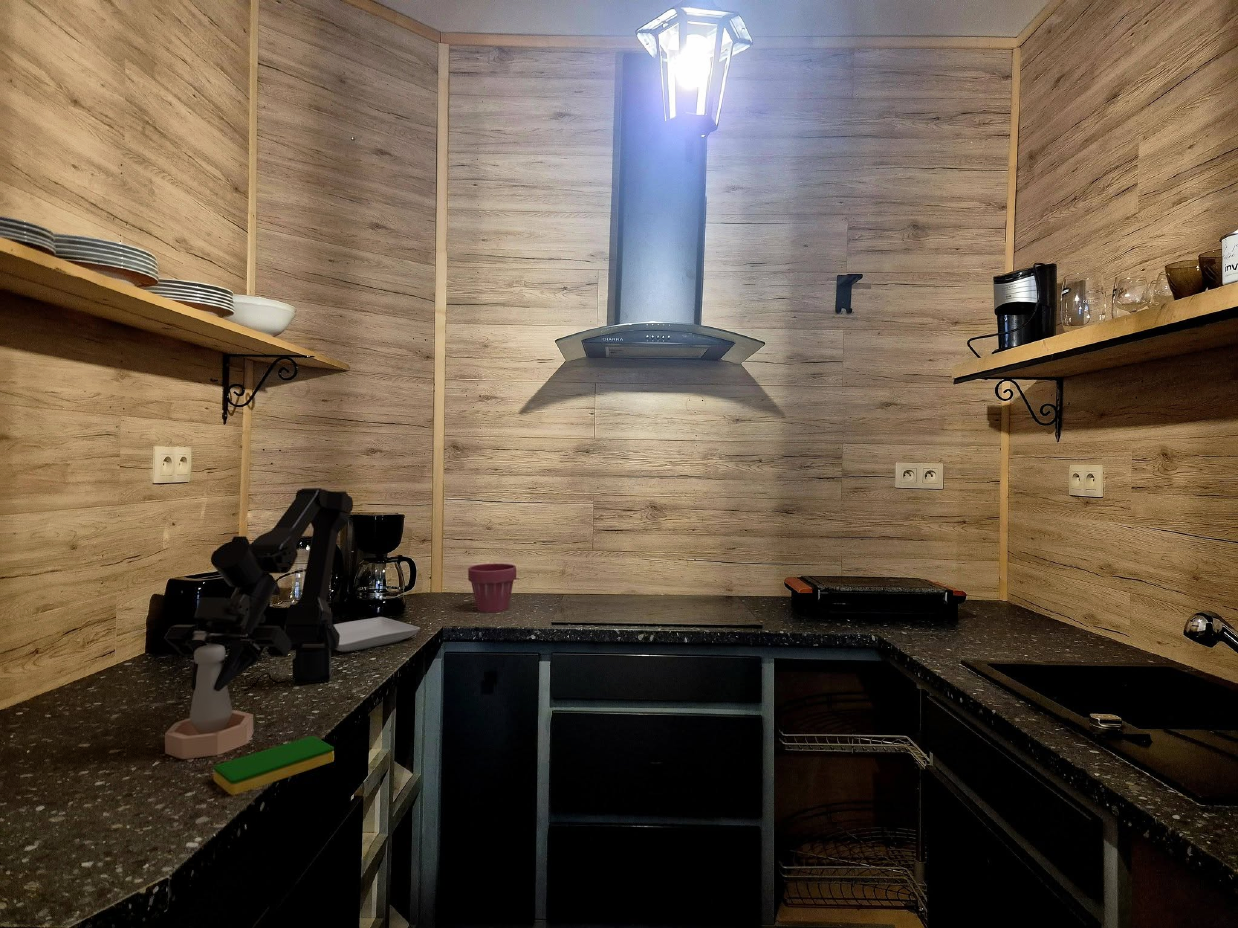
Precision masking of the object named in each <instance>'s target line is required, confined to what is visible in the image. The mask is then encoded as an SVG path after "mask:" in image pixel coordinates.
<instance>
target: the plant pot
mask: <svg viewBox="0 0 1238 928" xmlns="http://www.w3.org/2000/svg"><path fill="white" fill-rule="evenodd" d="M467 573H468V574H467V575H468V577H467V579H468V581H469V582H470V583H471V587H472V593H473V598H474V601H475V606H476V611H478V612H480V613H487V614H491V613H494V614H495V613H501V612H504V611H507V610H509V605H510V602H511V601H510V600H511V597H512V592H513V591H512V590H513V586H514V581H515V580H516V579H517V566H516V565H514V564H509V563H481V564H475V565H471V566H469V567H468V569H467Z"/></svg>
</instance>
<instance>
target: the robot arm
mask: <svg viewBox="0 0 1238 928" xmlns="http://www.w3.org/2000/svg"><path fill="white" fill-rule="evenodd" d="M289 505H290V506H289V507H288V508H287V509H286V511H284V513H283V515H282V516H281V517H280V519H279V520H278V522H277V523H276V524H275V526H274V527H273V528H272V529H271V530H269V531H267V532H264V533H263V534H260V535H259V536H257V537H256V538H255V539H254V540H253V541H252V542H251V543H250V541H249V539H248V538H247V536H244V535H242V536H240V535H239V536H237V535H236V536H233V537H232V539H231V541H229V542H228V541H227V542H226V543H224V544H222V545H221V546H219V547H218V548H217V549H215V550H214V551H213V552H212V554H211V557H210V562H211V565H213V566H212V567H214V568H215V570H217V573H219V575H220V576H221V577H222V579H223V580H224V581H225V583H226V584H227V585H228V586H229V587H232V588H235V589H234V590H233V593H232V595H231V597H199V600H198V603H197V606H196V611H195V614H194V619H195V620H203V621H207V623H206V624H205V625H206V627H208V629H212V630H213V632H212V633H210V632H209V631H205V630H201V629H200V628H199V626H197V624H175V625H172V626H170V627H169V629H168V631H167V633H166V634H165V636H164V637H163V639H164V640H165V641H166V642H167V643H168V644H169V645H170V646H171V647H172V648H173V649H174V650H175V651H176V652H178V653H179V654H180V655H181V656H184V657H194V652H195V650H196V649H198V648H200V647H202V646H206V645H222V646H224V647H229V652H228V656H227V658H225V662H224V664H222V666H223V668H222V670H221V672H220V674H219V676H218V678H217V680H216V683H215V686H214V690H215V691H220V690H221V689H223V688H224V687H225V686H226V685H227V686H228V685H229V684H230V683H231V682H232V681H234V680H235V678H237V677H238V676H239V675H240V674H242V673H243V672H244V671H246V670H247V669H248V668H250V667H251V666H253V665H254V664H255V663H257V662H262V661H263V659H264V657H263V656H262V655H263V652H264V650H265V649H266V648H267V647H268V648H267V650H266V652H267V653H268V655H269V657H271V658H287V657H289V654H290V652H295V655H294V657H293V659H292V680H294V682H293V685H296V686H297V685H305V684H307V685H308V684H313V683H315V684H316V683H327V682H330V680H331V678H332V676H333V673H334V672H333V669H332V650H335V649H337V648H338V645H339V641H340V640H339V639H340V635H339V633H338V631H337V630H336V628H335V627H334V625H335V624H333V613H332V611H331V608H330V606H329V604H328V602H327V601H328V595H329V587H330V582H331V577H332V570H333V565H334V560H335V559H334V558H335V555H336V554H335V552H336V547H337V542H338V541H337V540H338V536H339V534H340V532H341V531H342V530H343V529H344V528H345V526H346V525H347V524H348V523H349V520H350V516H351V512H352V511H353V508H354V501H353V497H351V496H350V495H349V494H348V493H347V492H346V490H345V491H343V490H342V491H340V490H339V491H336V490H335V491H332V490H331V491H329V490H327V489H325V488H324V489H323V488H322V487H312V488H311V487H310V488H309V487H308V488H304V487H303V488H301V489H298V490H297V491H296V494H295V498H294V500H293V501H292V503H291V504H289ZM310 525H311V526H312V529H313V531H312V535H311V536H312V537H311V541H310V545H309V546H310V547H309V553H308V558H307V563H306V567H305V568H306V569H305V574H304V578H303V579H304V580H303V585H302V590H301V595H300V598H299V599H298V601H297V602H295V603H293V604H292V603H291V604H290V605H289V606H288V607H287V612H286V617H285V618H286V619H285V622H284V625H283V628H282V627H281V626H280V625H259V624H264V623H265V622H266V621H267V616H266V615H265V611H266V609H267V607H268V605H269V603H270V600H271V599H272V596H280V595H281V588H280V585H279V583H278V580H277V579H276V578H275V577H274V576H273V575H272V574H287V573H289V572H290V571H291V569H292V567H293V566H294V564H295V562H296V560H297V557H298V553H299V552H298V550H297V549H298V548H297V545H298V543H299V541H300V539H302V536H303V535H304V534H305V532H306V530H307V529H308V528H309V526H310ZM197 670H198V664H196V663H195V661H194V660H193V669H192V675H191V676H192V677H191V687H190V688H191V690H192V691H193V692H194V691H195V687H196V676H197Z"/></svg>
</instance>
